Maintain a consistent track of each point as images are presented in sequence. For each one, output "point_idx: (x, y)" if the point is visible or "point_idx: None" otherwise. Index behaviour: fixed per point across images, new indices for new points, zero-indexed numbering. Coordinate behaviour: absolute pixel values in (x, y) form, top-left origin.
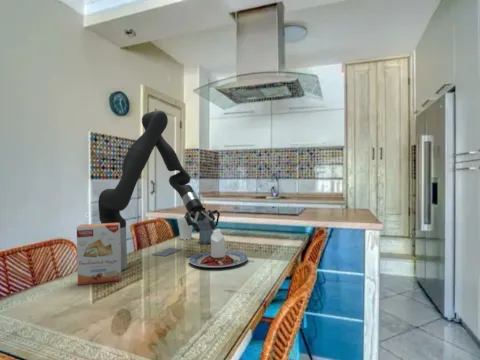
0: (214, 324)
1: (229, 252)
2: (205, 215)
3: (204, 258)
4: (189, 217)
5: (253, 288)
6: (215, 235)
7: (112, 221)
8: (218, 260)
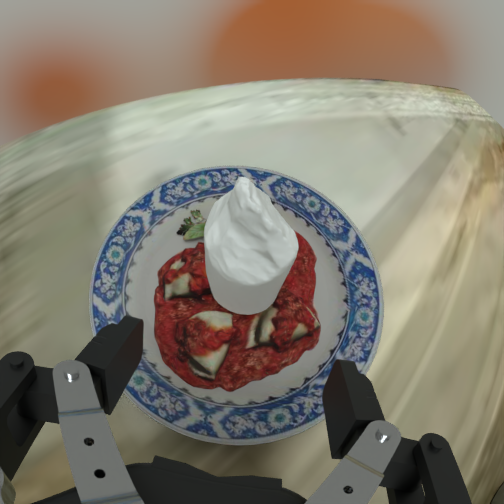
0: (458, 110)
1: (111, 308)
2: (119, 459)
3: (257, 373)
4: (450, 499)
5: (353, 98)
6: (275, 222)
7: None
8: None
